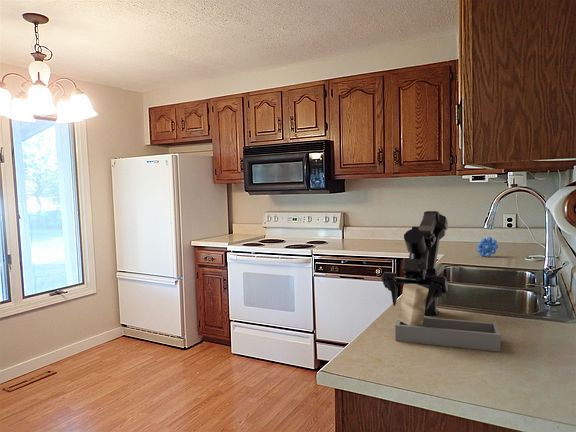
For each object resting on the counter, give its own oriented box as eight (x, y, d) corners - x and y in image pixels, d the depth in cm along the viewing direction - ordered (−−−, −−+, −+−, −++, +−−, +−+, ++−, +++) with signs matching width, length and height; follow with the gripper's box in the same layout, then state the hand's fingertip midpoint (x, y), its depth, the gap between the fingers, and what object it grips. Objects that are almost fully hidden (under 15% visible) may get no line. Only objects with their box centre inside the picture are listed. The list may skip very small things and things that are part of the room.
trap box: (399, 329, 129) (399, 315, 128) (496, 338, 119) (496, 323, 118) (395, 340, 120) (395, 325, 119) (500, 351, 109) (500, 335, 109)
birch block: (410, 318, 126) (416, 283, 125) (422, 325, 122) (428, 288, 121) (397, 319, 124) (403, 283, 123) (409, 326, 119) (416, 288, 118)
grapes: (499, 256, 247) (499, 236, 246) (497, 258, 241) (497, 237, 241) (477, 255, 253) (477, 235, 253) (476, 257, 248) (476, 237, 247)
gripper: (382, 246, 129) (372, 289, 120) (445, 248, 120) (439, 295, 111) (389, 266, 137) (380, 308, 128) (450, 270, 128) (444, 316, 119)
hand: (409, 306), depth 121 cm, fingers open, 9 cm apart
